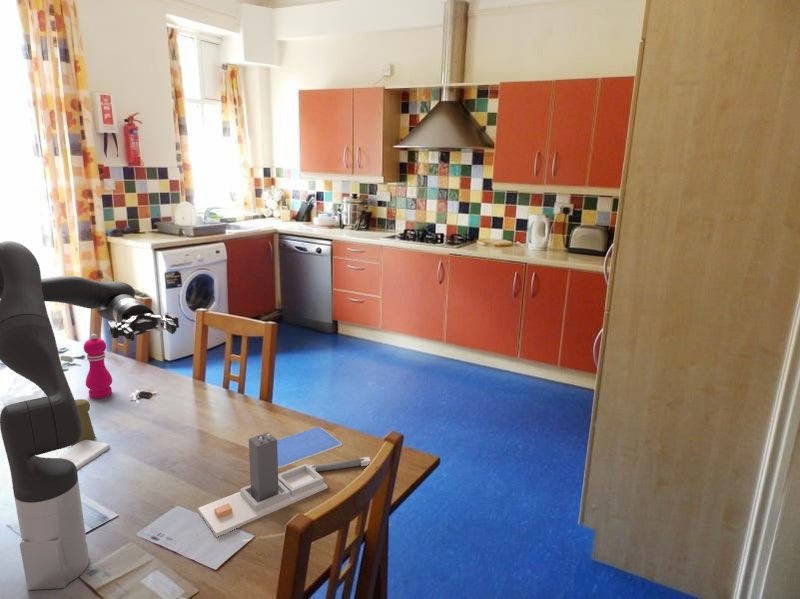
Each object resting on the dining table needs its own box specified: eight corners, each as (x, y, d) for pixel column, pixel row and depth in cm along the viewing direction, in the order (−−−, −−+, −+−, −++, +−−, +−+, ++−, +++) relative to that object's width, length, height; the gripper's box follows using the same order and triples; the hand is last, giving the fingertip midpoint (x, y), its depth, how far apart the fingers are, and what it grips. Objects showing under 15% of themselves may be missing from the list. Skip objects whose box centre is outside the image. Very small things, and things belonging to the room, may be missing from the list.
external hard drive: (110, 449, 134) (70, 476, 123) (83, 444, 136) (41, 470, 124) (109, 443, 134) (69, 470, 122) (83, 438, 136) (40, 464, 124)
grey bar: (369, 461, 131) (369, 456, 131) (370, 465, 130) (370, 459, 129) (304, 471, 127) (304, 465, 126) (305, 475, 125) (305, 469, 125)
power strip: (305, 469, 128) (304, 460, 127) (327, 489, 120) (327, 479, 120) (198, 511, 111) (197, 501, 110) (216, 537, 104) (216, 526, 103)
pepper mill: (88, 391, 165) (81, 331, 160) (114, 388, 168) (107, 329, 163) (86, 401, 159) (78, 338, 154) (113, 397, 162) (106, 336, 157)
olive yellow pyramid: (63, 441, 136) (58, 403, 133) (86, 431, 141) (81, 394, 139) (78, 447, 134) (73, 408, 131) (100, 437, 139) (96, 399, 136)
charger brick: (278, 496, 116) (277, 434, 112) (259, 504, 113) (257, 441, 109) (270, 487, 118) (268, 427, 115) (251, 495, 116) (248, 433, 112)
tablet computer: (276, 472, 127) (276, 468, 127) (255, 450, 136) (255, 445, 136) (343, 448, 139) (343, 443, 139) (319, 429, 148) (319, 425, 148)
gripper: (98, 305, 122) (116, 322, 110) (162, 296, 131) (185, 311, 119) (102, 335, 124) (119, 355, 112) (164, 325, 133) (187, 342, 121)
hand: (153, 332), depth 116 cm, fingers open, 8 cm apart
